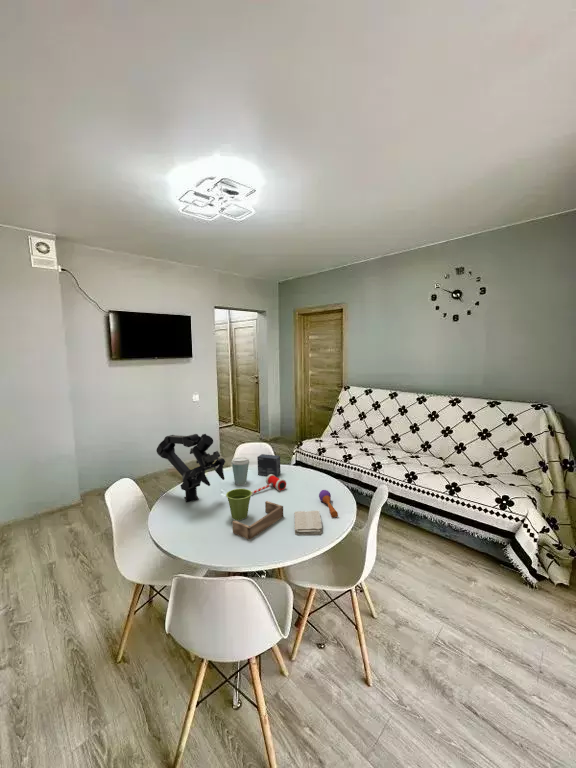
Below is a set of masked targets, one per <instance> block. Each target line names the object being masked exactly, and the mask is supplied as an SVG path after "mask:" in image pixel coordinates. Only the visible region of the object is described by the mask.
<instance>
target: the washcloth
mask: <svg viewBox="0 0 576 768" xmlns="http://www.w3.org/2000/svg"><path fill="white" fill-rule="evenodd" d="M293 515H294V534H295V535H301V536H302V535H303V536H306V535H307V536H309V535H313V536H315V535H322V532H323V531H322V528H323V525H322V523H323V522H322V519H321V514H320V510H309V511H308V510H307V511H305V510H304V511H301V510H298V511H294V514H293Z"/></svg>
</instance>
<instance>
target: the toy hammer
mask: <svg viewBox="0 0 576 768" xmlns="http://www.w3.org/2000/svg"><path fill="white" fill-rule="evenodd" d="M265 478H266V479H265V482H266V485H264V486H262V487H259V488H258V489H255V490H253V491H251V492H252V495H254V494H256V493H258V492H259V493H260V492H261V491H263V490H265V489H268V488H270V487H273V488H275V490H277V491H279V492H282V491H284V490H285V489H286V488H287V481H286V480H284V479H283V478H279V477H276V476H275V475H273V474H270V475H268V476H266V477H265ZM281 490H282V491H281Z"/></svg>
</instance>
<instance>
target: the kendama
mask: <svg viewBox="0 0 576 768" xmlns="http://www.w3.org/2000/svg"><path fill="white" fill-rule="evenodd" d="M331 495H332V494H331V492H330V491H329V490H327V489H322V490H320V491H319V493H318V498H319V500H320V501H321V502H322V503H324V504H326V505H327V506H328V509H329V513H330V516H331V518H332V519H333V518H337V517H338V516H339V512H338V511H337V510H336V509H335V507H334V506H333V505H332V503H330V502H331V498H332V497H331Z"/></svg>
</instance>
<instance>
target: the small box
mask: <svg viewBox="0 0 576 768" xmlns="http://www.w3.org/2000/svg"><path fill="white" fill-rule="evenodd" d="M256 460H257V476H258V475H259V476H260V477H267V476H268V475H270V474H273V475H275V476H276V477H277V478H279V476H281V455H275V454H274V455H273V454H264V453H261V454H260V455H258V456H257V459H256Z"/></svg>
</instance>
